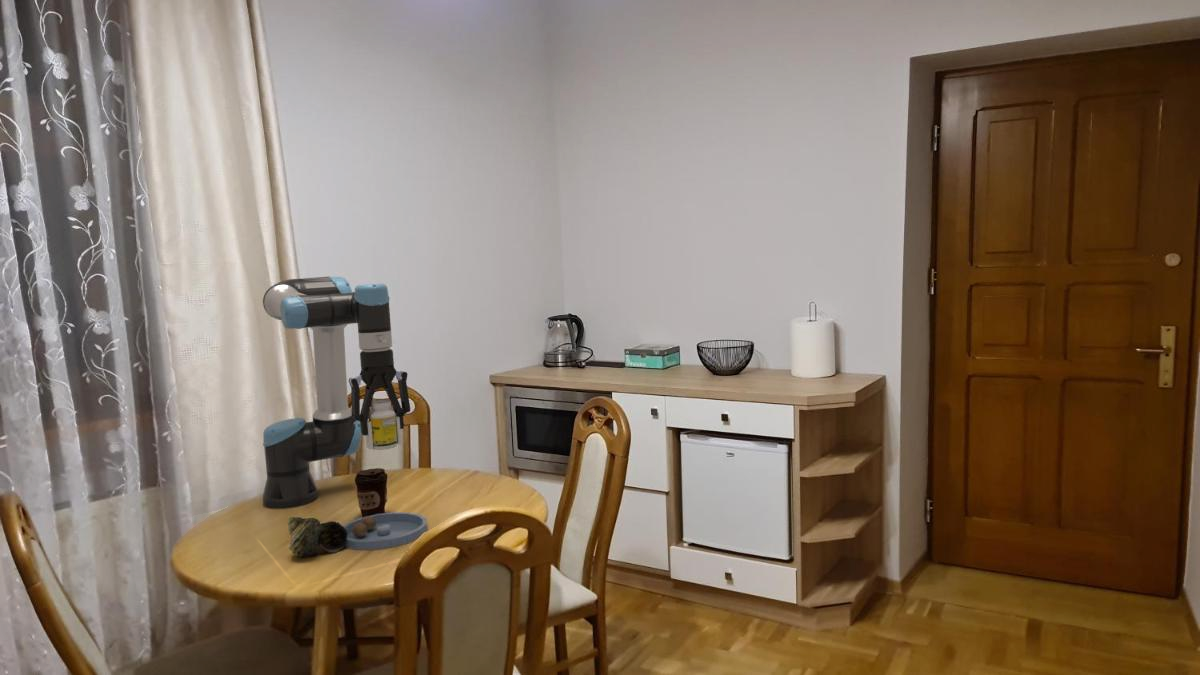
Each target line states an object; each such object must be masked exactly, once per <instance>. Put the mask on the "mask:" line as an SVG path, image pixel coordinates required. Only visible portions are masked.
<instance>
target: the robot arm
mask: <svg viewBox="0 0 1200 675" xmlns="http://www.w3.org/2000/svg"><path fill="white" fill-rule="evenodd" d="M262 306H263V308H264V309H263V310H264V311H265V312H266V313H267V315H268V316H270V317H271V318H273V319H275V320H278V321H281V323H282V325H283V327H284V328H285V329H290V330H292V329H297V330H300V329H305V328H306V329H307V328H310V329H311V330H312V337H313V340H312V341H313V354H314V356H313V357H314V358H313V359H314V372H315V387H316V390H315V392H316V403H317V404H316V405H317V408H316V410H315V411H314V412H313V413H312V421H306V419H305V418H303V417H296V418H288V419H284V420H282V421H281V420H279V421H277V422H275V423H272V424H270V425H268V426H266V427H265V429H264V431H263V437H262V438H263V443H262V445H263V446H262V447H264V448H263V449H264V458H265V469H266V481H265V485H264V490H263V494H262V505H263V506H264V507H265V508H269V509H287V508H294V507H299V506H304V505H306V504H309V503H312V502H315V500H317V499H319V490H318V487H317V485H316V482H315V481H314V478H313V475H312V474H311V471H310V470H311V469H310V463H311V462H312V463H313V462H317V461H323V460H328V459H334V458H343V457H345V456H350V455H353V454H356V453H357V451H358V450H359V448H360V445H361V440H362V436H365V445H366V446H365V447H366V448H367V449H368V450H374V449H373V439H372V426H371V421H369V419H368V416H369V413H370V412H371V403H372V402H373V398H374V394H375V393H376V391H377V390H379V389H384V391H385V393H386V396H387V397H388V400H390V401H391V408H392V410H393V411H394V412H395V418H396V430H397V445H401V444H402V432H401V430H404V428H405V424H404V417H405V415H406V414H407V413H410V412H411V404H410V400H409V399H410V397H409V391H408V385H407V384H408V383H407V379H408V373H407V372H406V371H402V370H400V371H398V370H396V368H395V366H394V365H395V363H394V351H393V349H391V347H393V340H392V338H393V337H392V327H391V324H392V322H391V313H390V312H391V311H390V296H389V291H388V286H387V285H386V284H384V283H369V284H368V283H367V284H358V285H356V286H355V288H354V291H352V288H351V285H350V283H349V281H348V280H347V279H346V278H345V277H343V276H330V275H329V276H320V277H305V278H292V279H291V278H290V279H285V280H282V281H280V282H277V283H274V284H273V285H271V286H269V288H268V289H267V290H266V291H265V292H264V294H263V297H262ZM351 324H357V333H358V348H359V350H361V351H360V353H359V359H360V360H359V361H360V369H361V370H360V373H359V375H357V376H355V377H350V378H349V379H348V380H347V362H346V346H345V345H346V344H345V340H346V339H345V328H346V327H347V326H348V325H351ZM394 379H396V380H397V384H398V385H397V386H398V392H399V399H400V401H399V399H398V396H397V394H396V392H395V388H394V385H393V383H392V382H393V380H394ZM347 381H348V382H347ZM361 382H363V383H364V384H365V390H364V392H365V393H364V397H363V400H362V405H361V403H360V402H361V398H360V397H361V396H360V395H361V394H360V386H361ZM347 383H349V385H350V391H351V392H350V396H351V398H350V399H351V400H350V402H351V406H350V407H351V408H350V407H349V404H348V401H349V400H348V384H347ZM400 403H401V404H400ZM360 406H361V407H360ZM360 408H361V409H360Z"/></svg>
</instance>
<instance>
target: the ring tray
mask: <svg viewBox="0 0 1200 675" xmlns="http://www.w3.org/2000/svg"><path fill="white" fill-rule="evenodd" d="M367 517H373V518H374V519H375V521H376V526H375V528H374V529H373V530H371V531H367V533H366V535H365V536H363V537H361V538H359V537H356V536H355V535H354V534H353V527H354V526H355V525H356V524H358V523H362V521H363V519H364V518H366V517H363V518H362V517H359V518H357V519H354V520H352V521H350V522H347V523H346V524H344V525H343V526H344V528H345V529H346V530H347V542H346V544H345V546H344V547H343V548H347V549H351V550H356V551H375V550H376V551H377V550H385V549H391V548H395V547H401V546H403V545H407V544H409V543H411V542H414V541H416V540H418V538H419V537H420V536H421V535H422V534H423V533H424V532H426V531H427V532H428V520H427V519H428V518H427V517H425V516H423V515H422V514H420V513H414V512H408V511H407V512H405V511H404V512H399V511H398V512H397V511H394V512H393V511H392V512H385V513H383V514H376V515H371V516H367ZM427 532H426V533H427ZM419 539H420V538H419Z"/></svg>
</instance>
